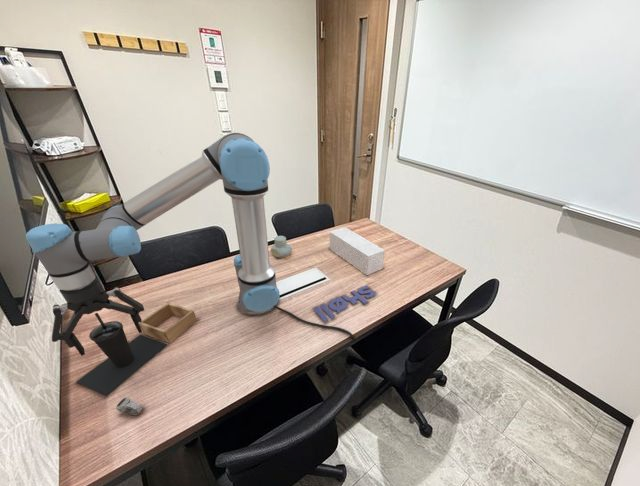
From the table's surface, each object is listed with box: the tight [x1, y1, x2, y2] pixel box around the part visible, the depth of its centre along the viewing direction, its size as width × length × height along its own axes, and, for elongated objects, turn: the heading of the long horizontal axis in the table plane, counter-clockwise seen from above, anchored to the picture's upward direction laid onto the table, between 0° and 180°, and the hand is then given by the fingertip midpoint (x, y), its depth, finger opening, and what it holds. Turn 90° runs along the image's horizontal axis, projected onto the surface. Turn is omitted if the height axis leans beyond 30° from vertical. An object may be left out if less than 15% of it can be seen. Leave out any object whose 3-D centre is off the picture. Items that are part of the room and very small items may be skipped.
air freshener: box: [270, 235, 293, 259], centre depth 147 cm, size 11×8×10 cm
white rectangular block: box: [329, 226, 386, 276], centre depth 148 cm, size 32×11×11 cm, turn 39°
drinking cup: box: [89, 312, 134, 368], centre depth 84 cm, size 8×8×20 cm
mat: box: [76, 334, 168, 397], centre depth 89 cm, size 12×20×1 cm, turn 161°
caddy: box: [139, 302, 198, 344], centre depth 102 cm, size 12×12×5 cm
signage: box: [312, 285, 376, 323], centre depth 119 cm, size 28×1×10 cm
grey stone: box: [115, 396, 144, 416], centre depth 75 cm, size 4×6×5 cm, turn 85°
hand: (112, 340), depth 84 cm, fingers open, 13 cm apart
